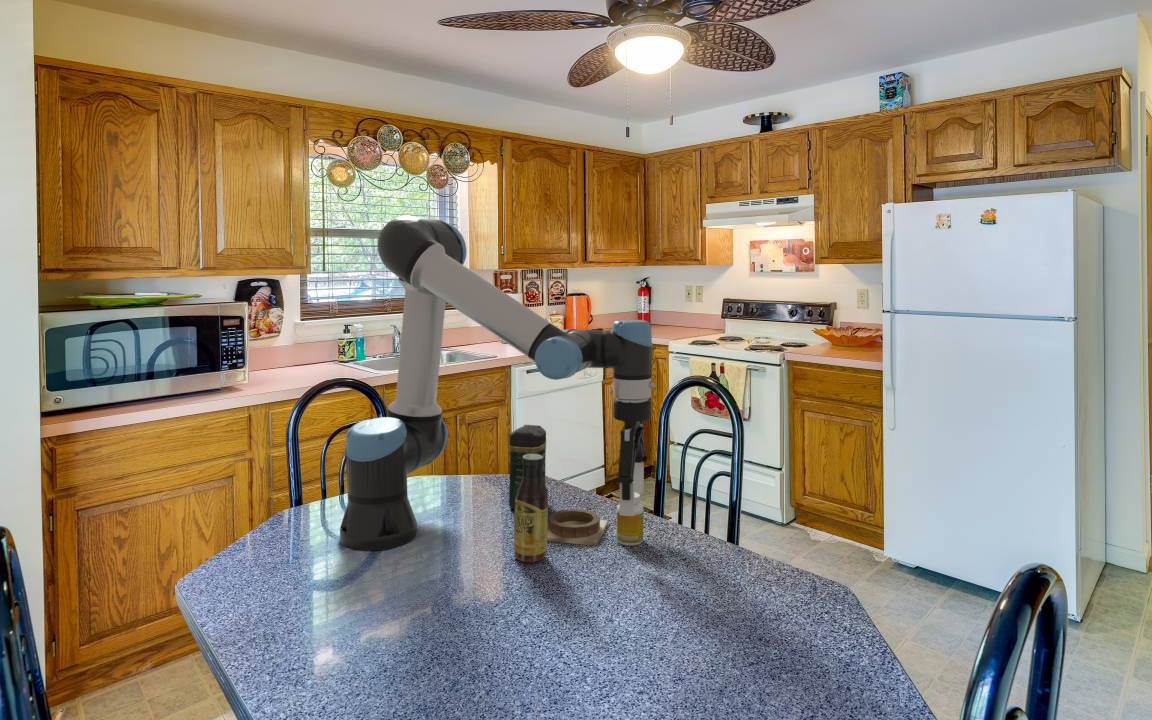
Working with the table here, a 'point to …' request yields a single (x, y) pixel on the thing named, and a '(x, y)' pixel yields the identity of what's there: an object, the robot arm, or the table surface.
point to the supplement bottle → (631, 525)
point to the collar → (575, 527)
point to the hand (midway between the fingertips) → (632, 503)
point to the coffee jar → (520, 444)
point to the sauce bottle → (531, 512)
